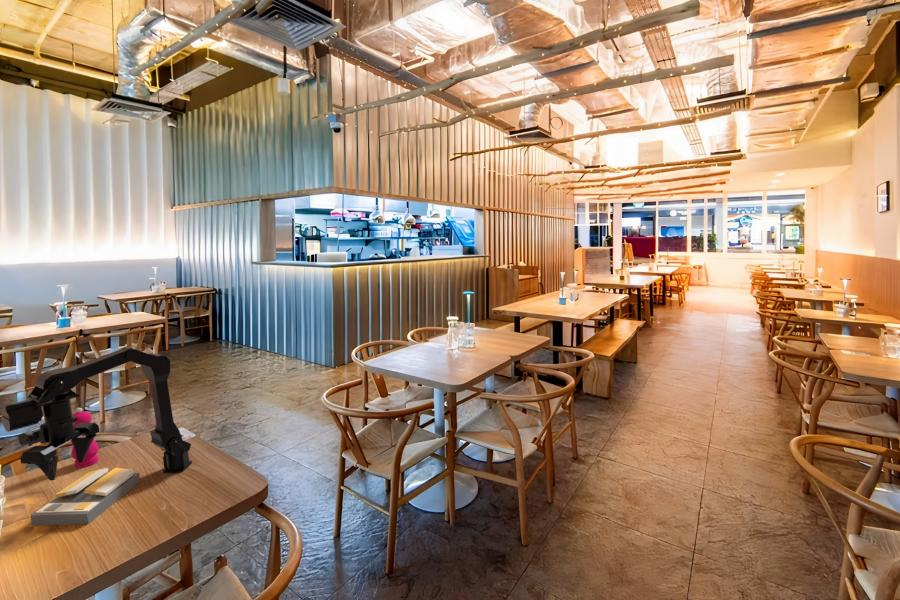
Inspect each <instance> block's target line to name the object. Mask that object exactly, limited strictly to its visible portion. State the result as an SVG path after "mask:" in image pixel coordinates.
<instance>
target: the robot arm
mask: <svg viewBox="0 0 900 600" xmlns="http://www.w3.org/2000/svg"><path fill="white" fill-rule="evenodd" d="M129 362H131V363H134V364H137V365H140V367H141V369H142V372H143V375H144V377H146V379H147V381H148V382H149V386H150V392H151V397H152V404H153V405H152V406H153V411H154V417H155V422H156V424H155V428H154V430H149V434H150V438H151V440H150V443H151V444H153V445H154V447H157V448H160V450H161V451H164V452H163V456H162V462H163V468H164V469H163V470H162V473H164V474H165V473H182V472H184V471H185V470H186V469H187V468H188V467H189V466H190V465H192V464H193V460H190V457H189V456H190V454H189V451H190V449H191V447H192V443H190V442H188V441H185V440H183V436H182V434H181V432H180V429H179V428H178V426H177V425H176V423H175V421H174V415H173V410H172V403H171V398H170V397H171V396H170V390H169V384H168V381H169V377H170V374H171V366H172V365H171V362H172V361H171V360H170V358H169V357H167V356H166V355H162V354H158V353H153V352H152V353H147V352H144V351H141V350H138V349H137V348H135V347H131V346H124V347H123V346H122V347H121V348H120V349H118V350H115V351H112V352H110V353H106V354H104V355H102V356H99V357H96V358H94V359H90V360H88V361H85V362H82V363H79V364H77V365H73V366H67V367H60V368H55V369H51V370H46V371H43V372H42V373H40V374H39V375H38V377H37V378H36V380H35V385H34V387H33V388H32V390H31V391H30V393H28V395H27V396H26V400H22V401H18V402H13V403H12V402H10V403H5V404H3V405H2V408H3V410H2V412H1V416H0V418H1V422H2V426H3V428H4V431H6V432H7V433H10V432H12V431H13V432H14V431H18V430H20V429H24V428H26V427H30V426H33V425H37V424H39V423H40V422H41V421H42V419H44V420H43V421H44V422H43V423H40V425H39V428H38V429H36V430H34V431H31V430H27V431H25V432H22V433H20V434H18V442H19V444H20V446H22V447H24V446H28V447H29V449H27V450H25V451H23V452H22V453H21V454H20V455H19V458H20V464H21V465H22V464H23V465H24V464H27V465H35V466H36V467H38V468H39V469H40V470H41V472H42V473H43V474H44V475H45V476H46V478H47V479H48V480H49V481H55V480H56V476H57V470H58V469H57V468H58V461H59V456H57V452H58V451H57V449H59V448H60V447H62V446H64V445H66V444H67V443H72V445H74V447H75V452H76V457H77V460H78V462H79V463H82V462H83V461H84V459H85V456H86V454H87V452H88V449H89V447H90V445H91V443H92V441H93V439H94V440H95V437H97V433H99V432H100V425H99V424H98V423H96V422H90V423H79V424H77V425H75V426H74V422H75V421H77V420H78V419H77V417H73V414H74V413H73V409H72V403H71V402H72V401H71V399H72V400H73V399H74V398H75V399H77V398H78V397H80V396H81V394H79V393H77V392H75V391H73V390H72V389H74V388H75V387H77V386H78V385H79V384H81V382H83V381H86V379H89V378H91V377H94V376H96V375H99V374H101V373H104V372H107V371H109V370H112V369H114V368H117V367H119V366H121V365H125V364H127V363H129ZM37 443H40V444H42V445H35V444H37ZM47 443H48V444H47ZM43 444H45V445H43ZM46 444H47V445H46ZM33 445H34V446H33ZM31 446H33V447H31Z"/></svg>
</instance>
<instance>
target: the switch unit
mask: <svg viewBox="0 0 900 600" xmlns="http://www.w3.org/2000/svg"><path fill="white" fill-rule="evenodd" d="M106 474H107V473H105V474H103V475H102V476H100V477H99V478H97V479H96V480H95V481H93V482H92V483H90V484H89V485H87V486H86V487H85V488H83V489H82V490H80V491H79V492H77V493H74V494H70V495H66V496H61V497H55V498H54V499H53V500H51V501H49V502H48V503H47V504H44V506H42V507H41V508H40V509H38V510H36V511H35V512H32V513H31V514H30V522H31V526H33V527H34V526H61V525H62V526H63V525H64V526H66V525H69V526H71V525H90V523H92V522H93V521H94V520H95V519H97V517H99V516H100V515H101V514H102V513H104V512H105V511H107V509H109V508H110V507H111V506H112V505H113V504H114V505H115V503H116V502H118V501H119V500H120V499H121V498H123V497H124V496H125V495H126V494H127V493H129V491H131V490H132V489H134V488H135V487H136V486H137V485H138V484H139V483H141V477H140V476H141V475H140V472H135V474H134V475H133V476H131V477H130V478H129V479H127V480H126V481H125V482H123V483H122V484H121V485H120V486H118V487H117V488H116V489H114V490H113V491H112V492H110V493H109V494H108V495H107V496H102V495H96V494H90V493H84V492H85V489H86V488H87V487H89V486H90V485H92V484H93V483H95V482H96V481H97V480H99V479H100V478H102V477H103V476H104V475H106Z"/></svg>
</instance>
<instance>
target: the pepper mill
mask: <svg viewBox="0 0 900 600" xmlns="http://www.w3.org/2000/svg"><path fill="white" fill-rule="evenodd" d="M72 414H73V417H77V419H78V420H77V421H75V422H74V426H75V425H77V424H79V423H92V419H93V416H92V414H91V413H90V412H89V411H83V408H82V407H77V408H76V409H75V412H74V413H72ZM72 445H73V446H72V448H71V458H73V459H74V467H75V468H81V469H82V468H85V467H90V466H93V465H95V464H97V463H98V462H99V460H100V459H99V455H98V452H99V451H100V450H99V449H100V447H99V445H98V442H97V441H96V440H95V438H94V439H93V441H92V443H91V445H90V447H89V449H88V452H87V454H86V456H85V459H84V461H83V462H82V463H79V462H78V460H77V457H76V452H75V447H74V444H72Z"/></svg>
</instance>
